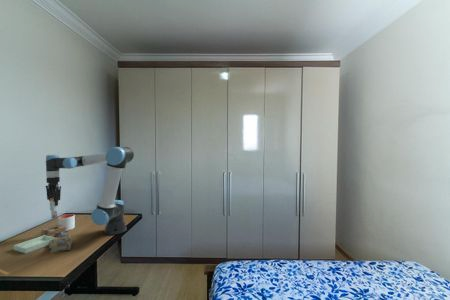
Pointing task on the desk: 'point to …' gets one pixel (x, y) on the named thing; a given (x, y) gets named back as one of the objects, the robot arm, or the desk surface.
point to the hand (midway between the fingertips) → (54, 209)
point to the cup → (67, 221)
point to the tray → (33, 244)
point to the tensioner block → (55, 231)
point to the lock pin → (53, 213)
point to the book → (61, 244)
